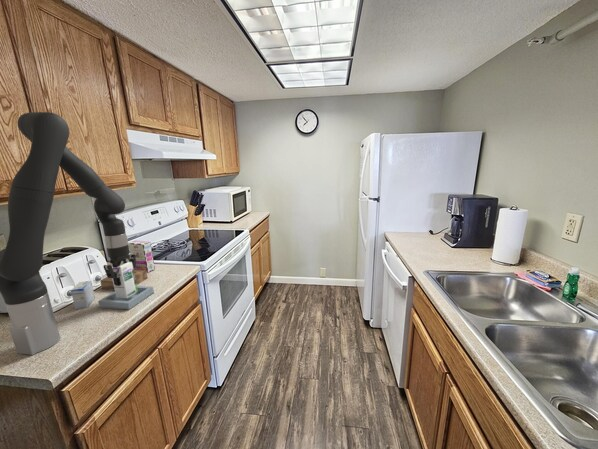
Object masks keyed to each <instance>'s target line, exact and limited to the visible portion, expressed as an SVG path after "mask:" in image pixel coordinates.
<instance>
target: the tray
mask: <svg viewBox="0 0 598 449" xmlns="http://www.w3.org/2000/svg"><path fill="white" fill-rule="evenodd" d="M137 290H138V292H137V293H135V294H133V295H132V296H130V297H129V298H118V297H116V293H115V291H113V292H111V293H109V294H107V295H106V296H104V297H103V298H101V299H99V300H98V301H97V302H98V306H99V308H100V309H101V308H102V309H112V310H113V309H114V310H127V311H130V310H132V309H133V308H135V307H136V306H137V305H139V304H141V303H142V302H144V300H146V299H147V298H149V297H150V296H152V295H153V294H154V293H155V291H154V287H153V286H143V285H137Z"/></svg>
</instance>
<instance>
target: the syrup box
mask: <svg viewBox="0 0 598 449" xmlns="http://www.w3.org/2000/svg"><path fill="white" fill-rule="evenodd" d="M112 267H113V266H112ZM113 269H114V270H118V269H119V270H120V272H119V277H120V281H121V285H120V286H116V285H114V289H115V290H114V292H115V293H116V297H118V298H129V297H130V296H132V295H133V294H135V293H137V292H138V290H137V286H138V284H137V285H136V280H135V275H134V270H133V265H132V262H128V263H124V264H123V265H121V266H118V267H113ZM116 273H117V272H115V275H116ZM112 280H113V278H112ZM113 284H114V281H113Z"/></svg>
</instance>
